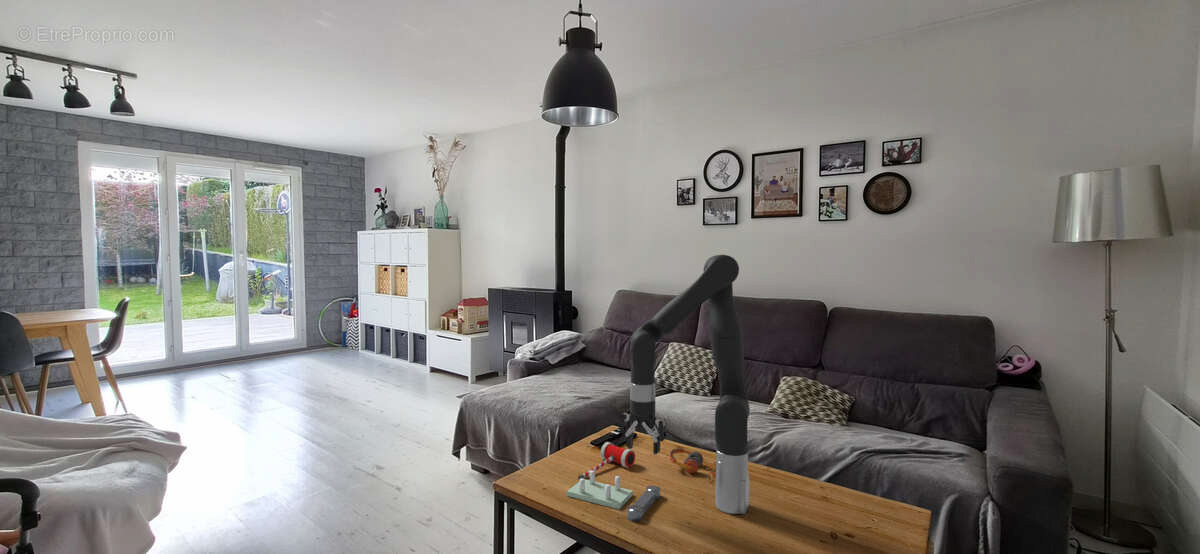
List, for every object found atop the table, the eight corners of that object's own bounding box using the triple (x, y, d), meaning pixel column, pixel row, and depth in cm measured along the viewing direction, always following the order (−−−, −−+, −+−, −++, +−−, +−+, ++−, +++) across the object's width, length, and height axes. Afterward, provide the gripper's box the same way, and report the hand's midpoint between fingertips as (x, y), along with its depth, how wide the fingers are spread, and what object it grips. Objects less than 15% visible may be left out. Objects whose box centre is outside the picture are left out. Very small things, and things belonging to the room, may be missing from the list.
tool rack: (632, 495, 160) (632, 477, 160) (619, 509, 152) (619, 491, 151) (582, 483, 169) (582, 466, 169) (567, 496, 160) (566, 478, 160)
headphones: (728, 472, 183) (675, 450, 191) (732, 458, 182) (678, 437, 190) (718, 492, 168) (661, 468, 176) (722, 478, 167) (665, 454, 175)
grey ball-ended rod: (649, 492, 162) (649, 484, 162) (662, 495, 160) (662, 487, 160) (624, 519, 146) (624, 510, 146) (639, 523, 144) (639, 514, 144)
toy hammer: (592, 487, 167) (592, 467, 167) (567, 476, 175) (567, 458, 174) (636, 465, 184) (636, 447, 184) (611, 456, 192) (611, 439, 191)
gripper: (669, 397, 152) (669, 451, 153) (627, 391, 160) (627, 442, 160) (659, 404, 146) (659, 460, 147) (615, 397, 153) (616, 450, 154)
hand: (642, 450), depth 154 cm, fingers open, 8 cm apart
